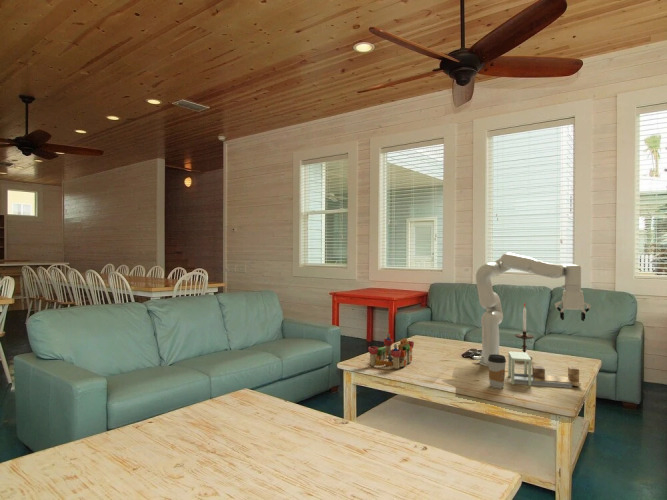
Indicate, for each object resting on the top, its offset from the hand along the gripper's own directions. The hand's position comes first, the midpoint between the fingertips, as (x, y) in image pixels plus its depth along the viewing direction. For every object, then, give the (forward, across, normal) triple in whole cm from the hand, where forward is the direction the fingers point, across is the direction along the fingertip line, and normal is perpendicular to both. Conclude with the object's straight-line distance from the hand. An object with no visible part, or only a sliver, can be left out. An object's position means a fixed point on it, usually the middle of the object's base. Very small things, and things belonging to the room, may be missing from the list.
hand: (572, 320), depth 228 cm
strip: (+29, -11, -16) cm, 35 cm away
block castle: (+31, -96, +2) cm, 101 cm away
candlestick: (+31, -19, +33) cm, 49 cm away
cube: (+28, -19, -16) cm, 37 cm away
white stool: (+30, -28, -16) cm, 44 cm away
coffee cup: (+31, -40, -29) cm, 58 cm away
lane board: (+30, -18, -16) cm, 39 cm away
